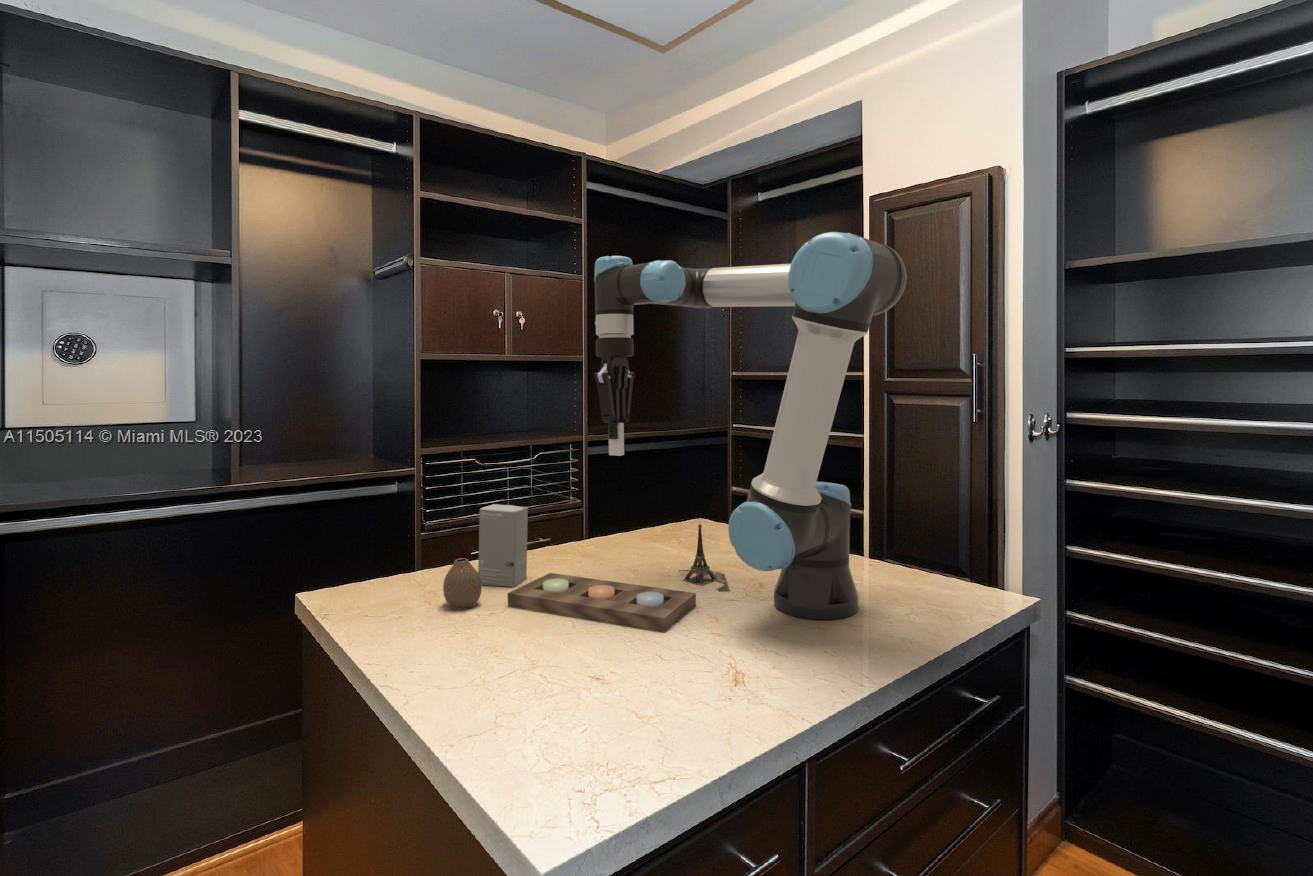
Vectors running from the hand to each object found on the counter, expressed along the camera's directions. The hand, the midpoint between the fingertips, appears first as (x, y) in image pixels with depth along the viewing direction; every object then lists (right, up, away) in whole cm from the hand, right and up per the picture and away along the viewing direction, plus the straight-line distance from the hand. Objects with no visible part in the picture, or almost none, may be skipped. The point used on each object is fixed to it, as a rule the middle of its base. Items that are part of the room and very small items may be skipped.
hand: (616, 454), depth 140 cm
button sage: (-11, -27, -7) cm, 30 cm away
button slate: (+7, -28, -16) cm, 33 cm away
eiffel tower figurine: (+18, -27, +3) cm, 32 cm away
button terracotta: (-2, -27, -12) cm, 30 cm away
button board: (-2, -28, -12) cm, 30 cm away
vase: (-28, -28, -10) cm, 41 cm away
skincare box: (-23, -27, +4) cm, 36 cm away
